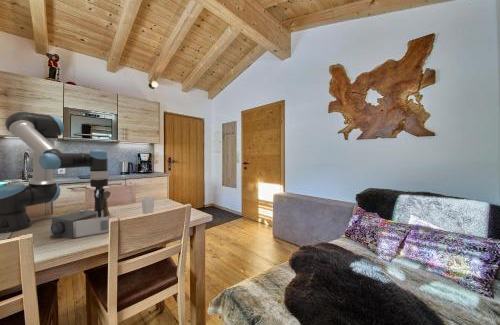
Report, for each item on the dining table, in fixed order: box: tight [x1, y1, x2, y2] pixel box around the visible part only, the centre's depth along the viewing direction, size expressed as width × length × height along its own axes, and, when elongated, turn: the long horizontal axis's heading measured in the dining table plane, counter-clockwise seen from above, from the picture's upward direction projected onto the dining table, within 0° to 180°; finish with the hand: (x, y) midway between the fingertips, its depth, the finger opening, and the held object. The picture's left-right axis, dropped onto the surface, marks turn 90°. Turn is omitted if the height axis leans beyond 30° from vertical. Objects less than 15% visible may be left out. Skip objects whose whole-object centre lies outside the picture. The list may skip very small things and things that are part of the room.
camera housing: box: [50, 208, 97, 239], centre depth 110 cm, size 14×19×10 cm
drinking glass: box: [141, 195, 155, 215], centre depth 128 cm, size 7×7×15 cm
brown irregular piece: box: [93, 190, 111, 217], centre depth 135 cm, size 9×14×18 cm, turn 57°
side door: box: [72, 216, 110, 239], centre depth 106 cm, size 2×15×8 cm, turn 126°
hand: (100, 222), depth 110 cm, fingers closed
